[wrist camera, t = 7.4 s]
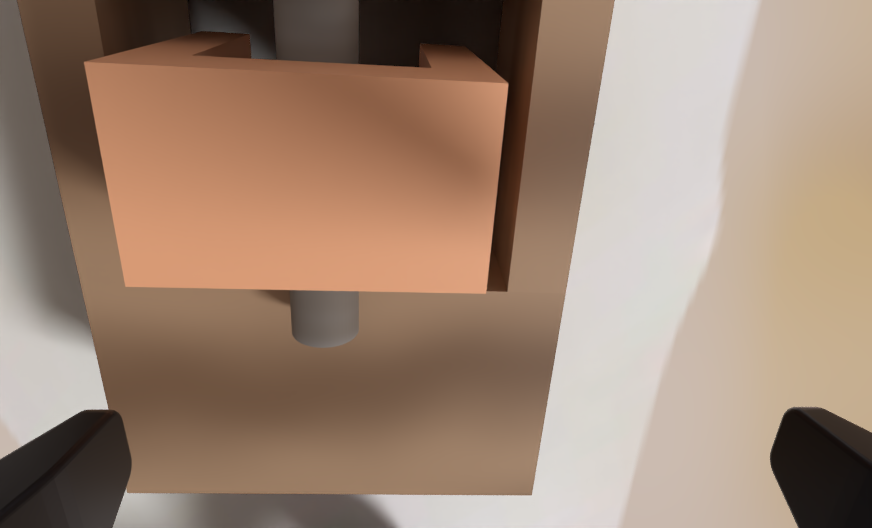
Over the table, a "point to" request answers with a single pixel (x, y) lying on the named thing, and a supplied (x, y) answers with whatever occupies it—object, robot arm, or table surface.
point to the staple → (299, 167)
